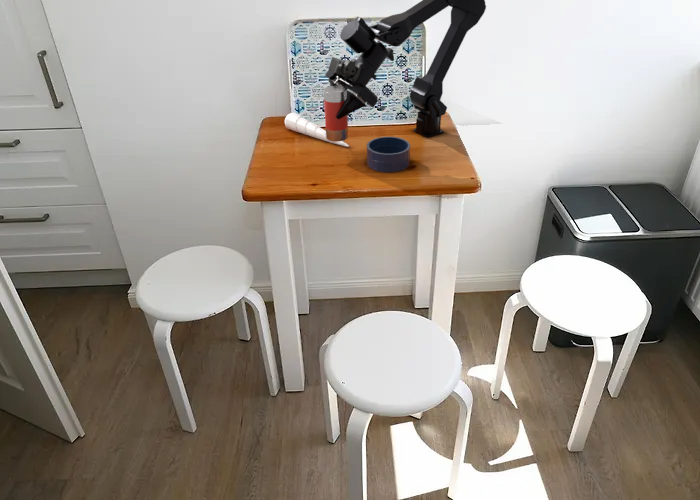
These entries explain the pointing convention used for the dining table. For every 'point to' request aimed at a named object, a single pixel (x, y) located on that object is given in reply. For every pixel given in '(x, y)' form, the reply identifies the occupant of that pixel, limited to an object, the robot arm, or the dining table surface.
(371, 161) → the pot
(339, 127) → the tin
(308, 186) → the dining table surface
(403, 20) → the robot arm
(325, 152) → the dining table surface
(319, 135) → the unicorn horn
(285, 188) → the dining table surface
